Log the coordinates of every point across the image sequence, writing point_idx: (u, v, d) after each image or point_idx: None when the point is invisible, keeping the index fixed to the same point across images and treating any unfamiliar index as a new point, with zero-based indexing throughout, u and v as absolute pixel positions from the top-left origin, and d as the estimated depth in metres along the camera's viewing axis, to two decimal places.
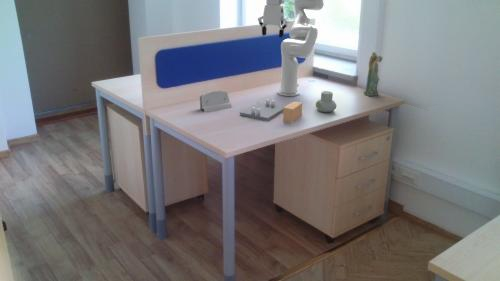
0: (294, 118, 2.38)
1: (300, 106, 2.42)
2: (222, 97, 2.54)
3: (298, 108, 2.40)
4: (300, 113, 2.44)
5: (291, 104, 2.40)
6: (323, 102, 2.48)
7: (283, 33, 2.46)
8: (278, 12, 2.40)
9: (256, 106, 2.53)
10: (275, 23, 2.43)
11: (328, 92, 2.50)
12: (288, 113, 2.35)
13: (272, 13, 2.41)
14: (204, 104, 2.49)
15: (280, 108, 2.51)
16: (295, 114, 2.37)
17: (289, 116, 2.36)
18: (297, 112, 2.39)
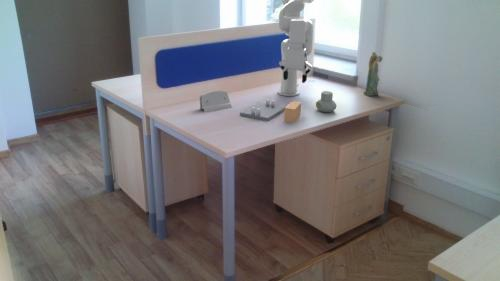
0: (295, 118, 2.38)
1: (299, 106, 2.42)
2: (222, 97, 2.54)
3: (298, 108, 2.40)
4: (299, 113, 2.44)
5: (291, 104, 2.40)
6: (323, 102, 2.48)
7: (306, 78, 2.31)
8: (301, 56, 2.26)
9: (256, 106, 2.53)
10: (298, 68, 2.29)
11: (328, 92, 2.50)
12: (290, 113, 2.35)
13: (295, 57, 2.28)
14: (204, 104, 2.49)
15: (280, 108, 2.51)
16: (296, 114, 2.37)
17: (290, 116, 2.35)
18: (297, 111, 2.39)
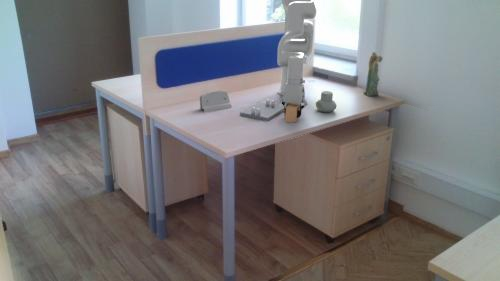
0: (296, 118, 2.38)
1: None
2: (222, 97, 2.54)
3: None
4: None
5: (291, 104, 2.39)
6: (323, 102, 2.48)
7: None
8: (299, 92, 2.33)
9: (256, 106, 2.53)
10: (296, 102, 2.36)
11: (328, 92, 2.50)
12: (291, 113, 2.35)
13: (293, 93, 2.34)
14: (204, 104, 2.49)
15: (280, 108, 2.51)
16: (296, 114, 2.37)
17: (291, 116, 2.35)
18: None
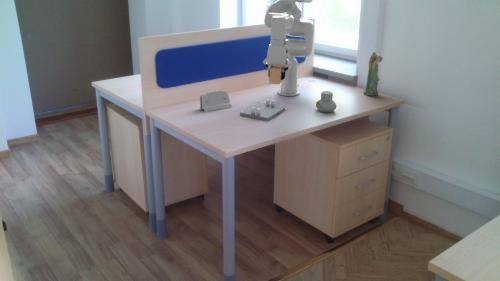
0: (280, 80, 2.35)
1: None
2: (222, 97, 2.54)
3: None
4: None
5: (275, 66, 2.37)
6: (323, 102, 2.48)
7: (285, 75, 2.37)
8: (283, 52, 2.30)
9: (256, 106, 2.53)
10: (279, 64, 2.33)
11: (328, 92, 2.50)
12: (275, 75, 2.32)
13: (276, 54, 2.32)
14: (204, 104, 2.49)
15: (280, 108, 2.51)
16: (280, 75, 2.35)
17: (275, 78, 2.33)
18: None
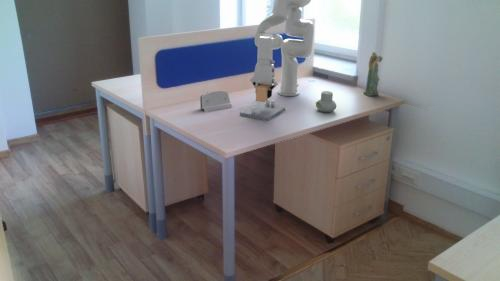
0: (266, 98, 2.42)
1: None
2: (222, 97, 2.54)
3: None
4: None
5: (262, 85, 2.43)
6: (323, 102, 2.48)
7: (271, 93, 2.43)
8: (269, 72, 2.37)
9: (256, 106, 2.53)
10: (266, 82, 2.40)
11: (328, 92, 2.50)
12: (261, 93, 2.39)
13: (263, 73, 2.38)
14: (204, 104, 2.49)
15: (280, 108, 2.51)
16: None
17: (262, 96, 2.39)
18: None
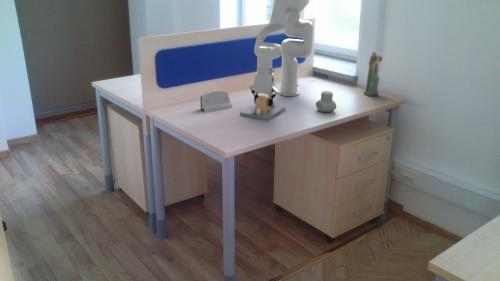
0: (266, 109, 2.44)
1: None
2: (222, 97, 2.54)
3: (268, 99, 2.46)
4: None
5: (262, 96, 2.46)
6: (323, 102, 2.48)
7: (272, 102, 2.45)
8: (269, 81, 2.39)
9: None
10: (266, 91, 2.42)
11: (328, 92, 2.50)
12: (260, 105, 2.41)
13: (263, 82, 2.40)
14: (204, 104, 2.49)
15: (280, 108, 2.51)
16: (266, 105, 2.44)
17: (261, 107, 2.42)
18: (267, 103, 2.45)
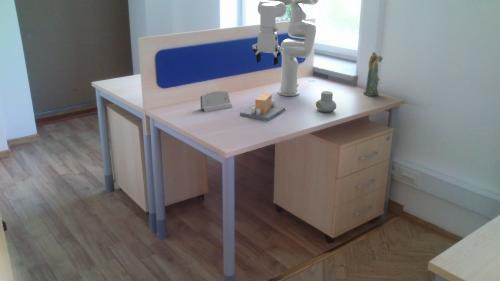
0: (266, 109, 2.44)
1: (270, 97, 2.48)
2: (223, 97, 2.54)
3: (268, 99, 2.46)
4: (270, 104, 2.51)
5: (262, 96, 2.46)
6: (323, 102, 2.48)
7: None
8: (272, 40, 2.37)
9: None
10: (269, 50, 2.40)
11: (328, 92, 2.50)
12: (260, 105, 2.41)
13: (266, 41, 2.39)
14: (204, 104, 2.49)
15: (280, 108, 2.51)
16: (266, 105, 2.44)
17: (261, 107, 2.42)
18: (267, 103, 2.45)
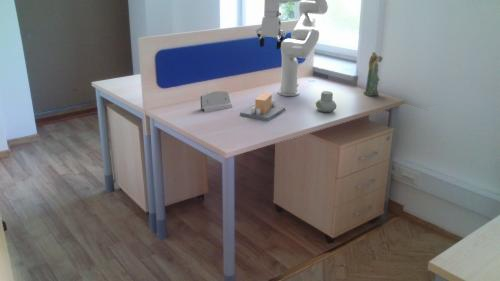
0: (266, 109, 2.44)
1: (270, 97, 2.48)
2: (223, 97, 2.54)
3: (268, 99, 2.46)
4: (270, 104, 2.51)
5: (262, 96, 2.46)
6: (323, 102, 2.48)
7: (281, 45, 2.50)
8: (276, 24, 2.45)
9: None
10: (273, 35, 2.48)
11: (328, 92, 2.50)
12: (260, 105, 2.41)
13: (270, 25, 2.46)
14: (205, 104, 2.49)
15: (280, 108, 2.51)
16: (266, 105, 2.44)
17: (261, 107, 2.42)
18: (267, 103, 2.45)
